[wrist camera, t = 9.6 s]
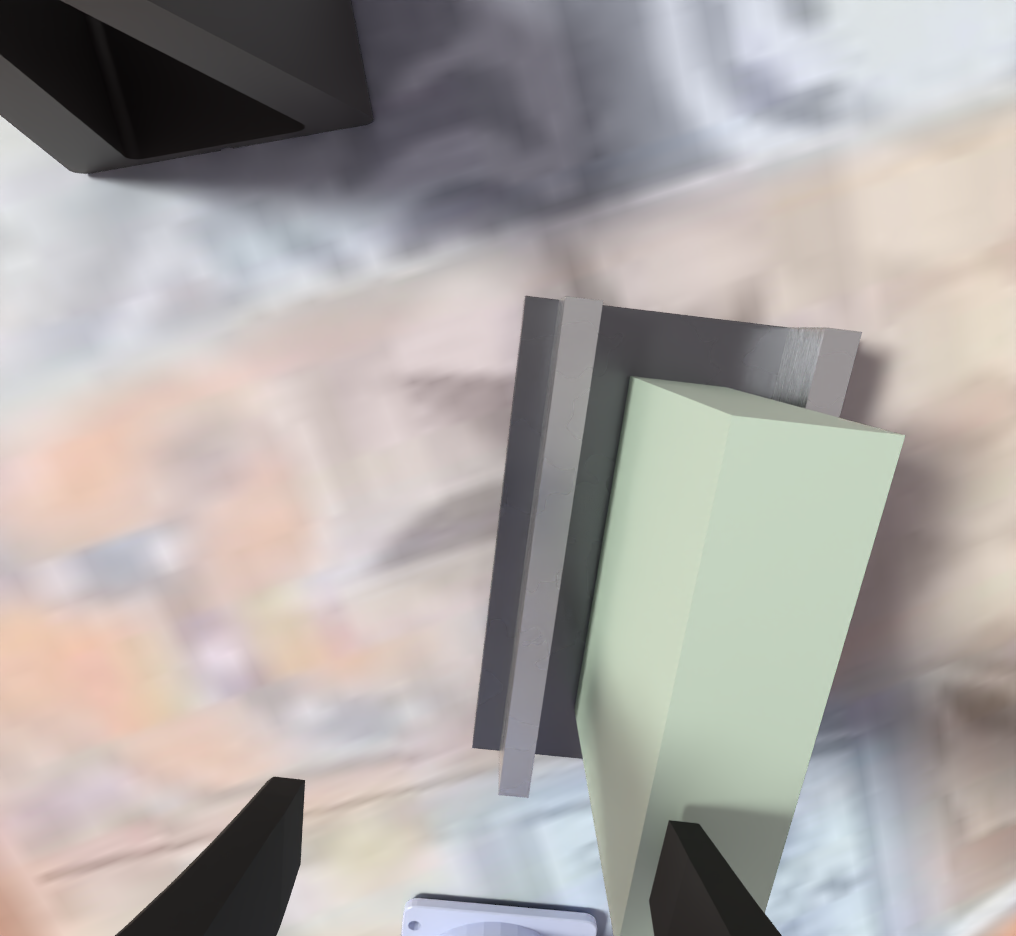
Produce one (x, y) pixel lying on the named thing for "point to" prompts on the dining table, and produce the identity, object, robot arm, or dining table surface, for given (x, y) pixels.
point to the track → (598, 487)
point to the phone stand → (176, 76)
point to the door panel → (719, 623)
